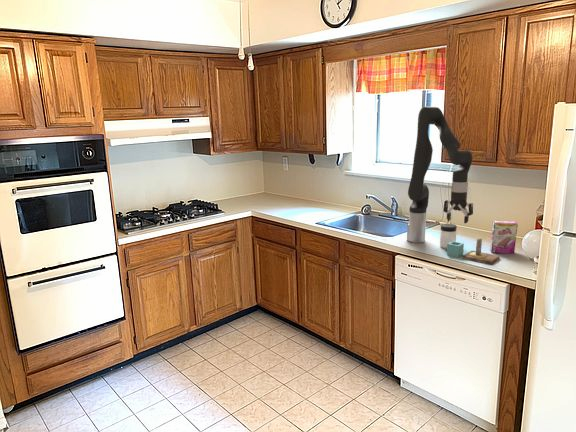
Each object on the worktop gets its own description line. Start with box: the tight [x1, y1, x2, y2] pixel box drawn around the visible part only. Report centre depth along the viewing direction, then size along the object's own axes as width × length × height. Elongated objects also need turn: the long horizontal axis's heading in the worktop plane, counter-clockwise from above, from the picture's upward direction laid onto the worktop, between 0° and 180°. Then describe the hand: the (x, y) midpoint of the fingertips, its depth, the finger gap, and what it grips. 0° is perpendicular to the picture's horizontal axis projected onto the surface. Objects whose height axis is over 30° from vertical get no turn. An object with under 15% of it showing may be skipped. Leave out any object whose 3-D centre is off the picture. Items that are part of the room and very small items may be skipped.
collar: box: [446, 241, 465, 258], centre depth 227 cm, size 6×6×6 cm
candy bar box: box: [489, 220, 519, 255], centre depth 227 cm, size 11×5×16 cm, turn 75°
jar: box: [439, 223, 458, 249], centre depth 240 cm, size 9×8×12 cm
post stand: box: [462, 238, 501, 265], centre depth 219 cm, size 14×11×10 cm
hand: (457, 221), depth 223 cm, fingers open, 8 cm apart
